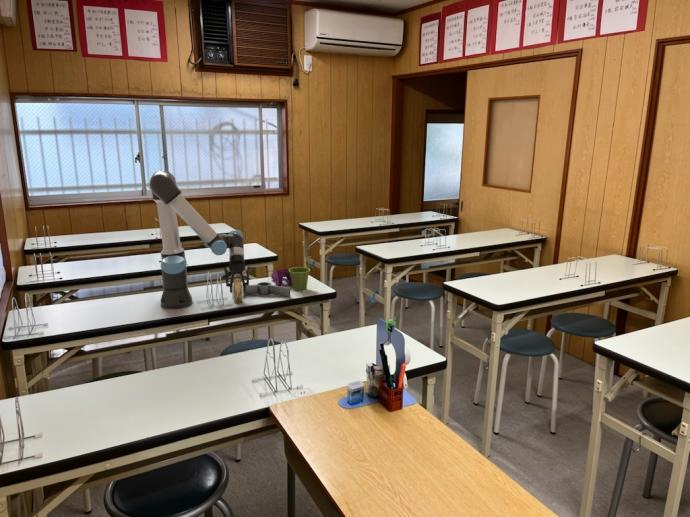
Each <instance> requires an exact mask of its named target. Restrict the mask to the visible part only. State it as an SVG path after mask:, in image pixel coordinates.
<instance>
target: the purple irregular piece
mask: <svg viewBox="0 0 690 517" xmlns="http://www.w3.org/2000/svg"><path fill="white" fill-rule="evenodd" d="M289 269H290V268H286V269H277V270H275V271H274V272H273V273H271V274H270V278H271V280H274V283H275V286H282V287H283V282H284V281H283V277H284V278H286V282H287V283H286V284H287V285H289V286H290V285H292V280H291V275H290V272H289ZM292 286H293V285H292Z"/></svg>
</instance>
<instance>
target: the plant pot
mask: <svg viewBox="0 0 690 517" xmlns="http://www.w3.org/2000/svg"><path fill="white" fill-rule="evenodd" d="M288 269H289V272H290V275H291V280H292V290H293V291H295V292H298V291H300V292H303V290H304V291H307V288H308V282H309V275H310V271H311V269H310V268H309V267H306V266H305V267H304V266H295V267H291V268H288Z"/></svg>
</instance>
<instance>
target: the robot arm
mask: <svg viewBox="0 0 690 517" xmlns="http://www.w3.org/2000/svg"><path fill="white" fill-rule="evenodd" d="M149 190H150V191H151V196H152V200H153V201H154V202H155V203H156V207H157V208H156V210H157V216H158V220H159V221H158V222H159V228H160V236H161V241H162V242H161V243H162V248H163V249H162V250H160V258H161V261H160V268H161V269H160V270H161V280H162V290H163V291H162V293H161V296H160V297H161V298H160V307H161V308H163V307H164V308H163V309H168V310H169V309H170V310H174V309H183V308H187V307H189V306H191V305H192V304H193V297H192V294H191V293H190V290H189V286H188V285H189V284H188V273H187V259H186V253H185V248H183V247H182V246H181V237H180V231H179V223H178V216H179V218H180V219H182V220H183V221H184V223H186V224H187V225H188V227H189V228H190V229H191V230H192V231H193V232H194V233H195V234H196V235H197V236H198V237H199V238H200V239H201V241H203V242H204V244H205V247H206V248H209V249H210V250H211V253H213V254H214V255H216V256H222V255H225V253H226V252H227V250H228V252H229V254H228V256H229V257H228V258H229V260H228V261H229V264H228V267H224V268H223V271H224V274H225V286H226V287H227V288H228V287H229V293H231V294H232V296H231V298H232V300H234V285H233V279H234V278H235V276H236V275H239V278H241V282H242V300H243V299H244V295H243V292H245V291H246V288H245V287H246V286H248V285H250V271H251V267H250V266H246V264H245V249H244V245H245V244H244V243H245V242H244V234H243V232H242V231H241V230H239V229H233V230H230V231H229V232H228V233H217V232H216V231H215V229H214V228H213V227H212V226H211V224H209V223H208V222H207V221H206V220H205V218H203V216H202V215H201V214H200V213H199V212H198V211H197V210H196V209H195V208H194V207H193V206H192V205H191V204H190V203H189V201H188V200H187V199H186V198H185V197H184V196H183V192H182V191H181V189H180V188H179V187H178V186H177V180H176V177H175V176H174V175H173V173H171V172H170V171H166V170H158V171H156V172H154V173H153V174H152V175H151V177H150V179H149ZM229 271H230V272H231V277H230V282H229ZM244 271H245V272H246V279H245V278H244V274H243V272H244ZM245 280H246V281H245Z"/></svg>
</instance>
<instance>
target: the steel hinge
mask: <svg viewBox="0 0 690 517" xmlns="http://www.w3.org/2000/svg"><path fill="white" fill-rule="evenodd" d="M245 288H246V291H245V292H243V296H250V295H258V296H269V295H272V296H279V297H283V296H284V297H283V298H290V297H291V287H287V286H283V285H282V286H276V284H275V285H274V284H272V283H271V282H268V281H261V282H257V283H256V284H249V285H248V286H246V287H245Z"/></svg>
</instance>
